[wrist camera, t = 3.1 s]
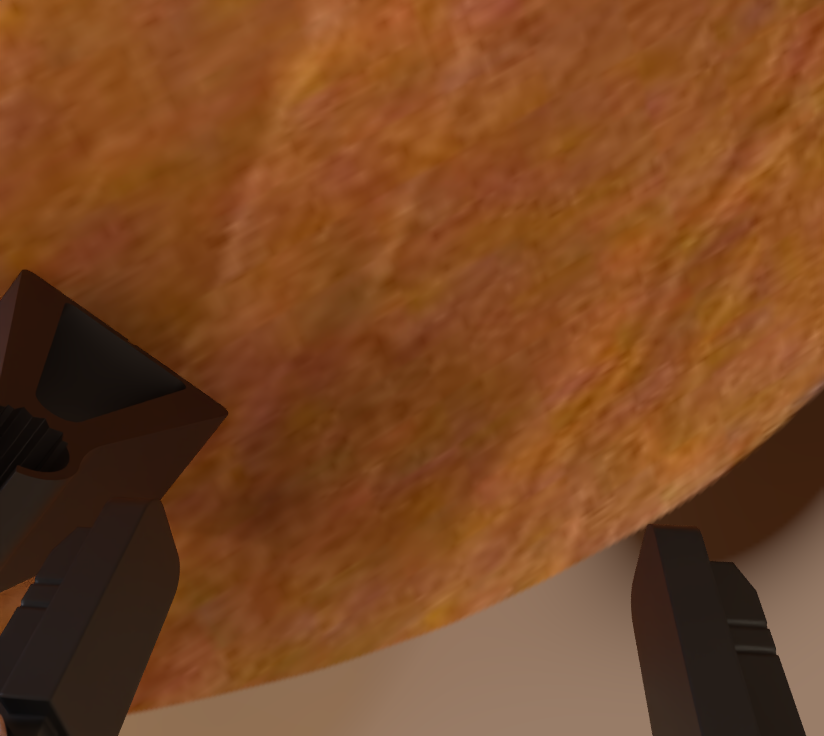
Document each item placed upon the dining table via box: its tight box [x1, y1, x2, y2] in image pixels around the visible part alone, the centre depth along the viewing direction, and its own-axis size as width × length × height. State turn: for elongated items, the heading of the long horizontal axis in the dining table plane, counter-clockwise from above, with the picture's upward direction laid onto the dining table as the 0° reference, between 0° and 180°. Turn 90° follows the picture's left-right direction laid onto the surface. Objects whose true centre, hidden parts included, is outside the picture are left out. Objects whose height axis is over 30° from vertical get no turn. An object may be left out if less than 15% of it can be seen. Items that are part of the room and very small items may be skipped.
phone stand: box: [0, 270, 228, 592], centre depth 23 cm, size 9×6×12 cm, turn 50°
